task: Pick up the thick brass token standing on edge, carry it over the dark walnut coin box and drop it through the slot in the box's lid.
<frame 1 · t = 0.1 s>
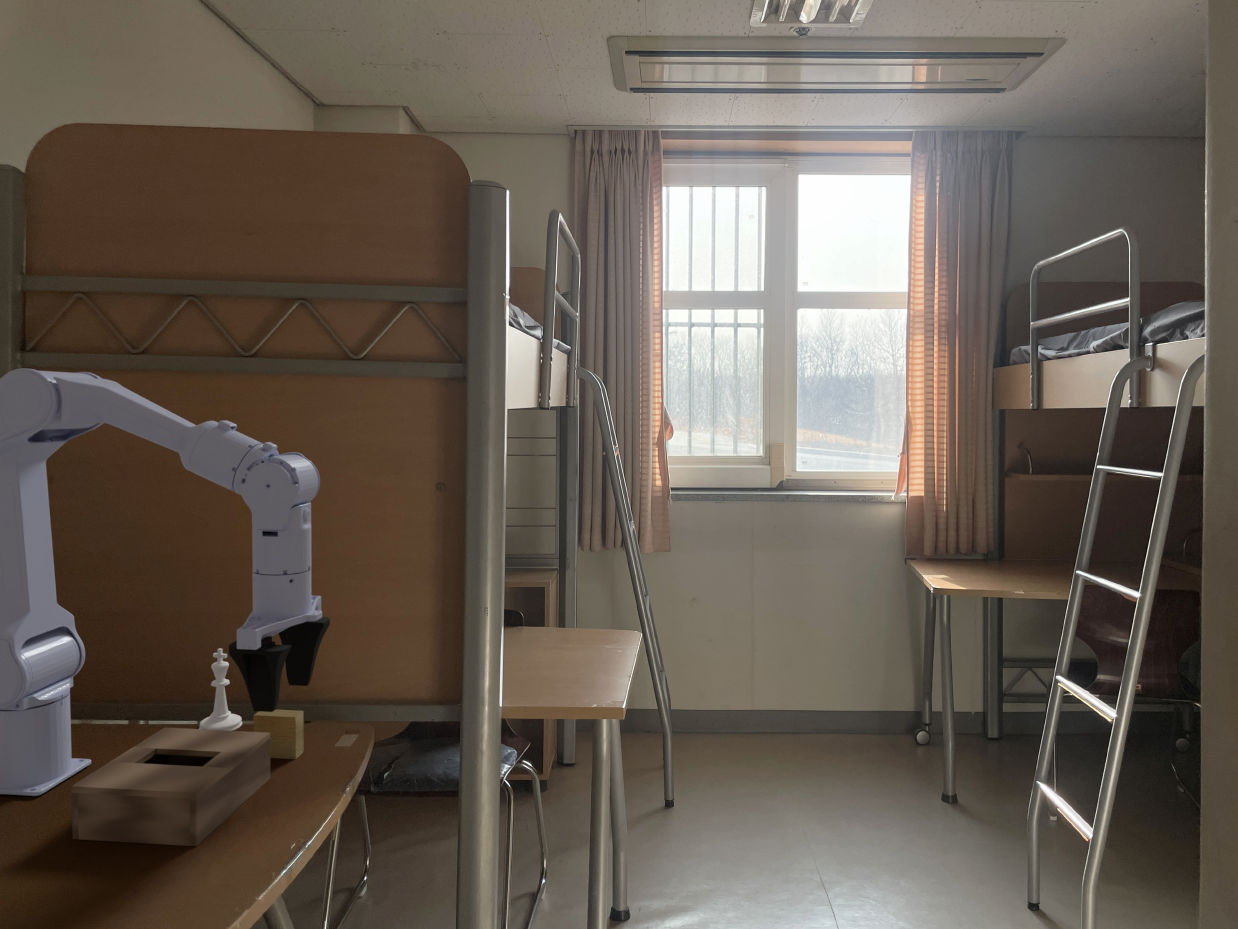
hand: (282, 697, 86), 10 cm above the table, tool pointing down, fingers open, 7 cm apart
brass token: (278, 754, 96), on the table
coin box: (179, 806, 83), on the table
chess piece: (220, 728, 103), on the table
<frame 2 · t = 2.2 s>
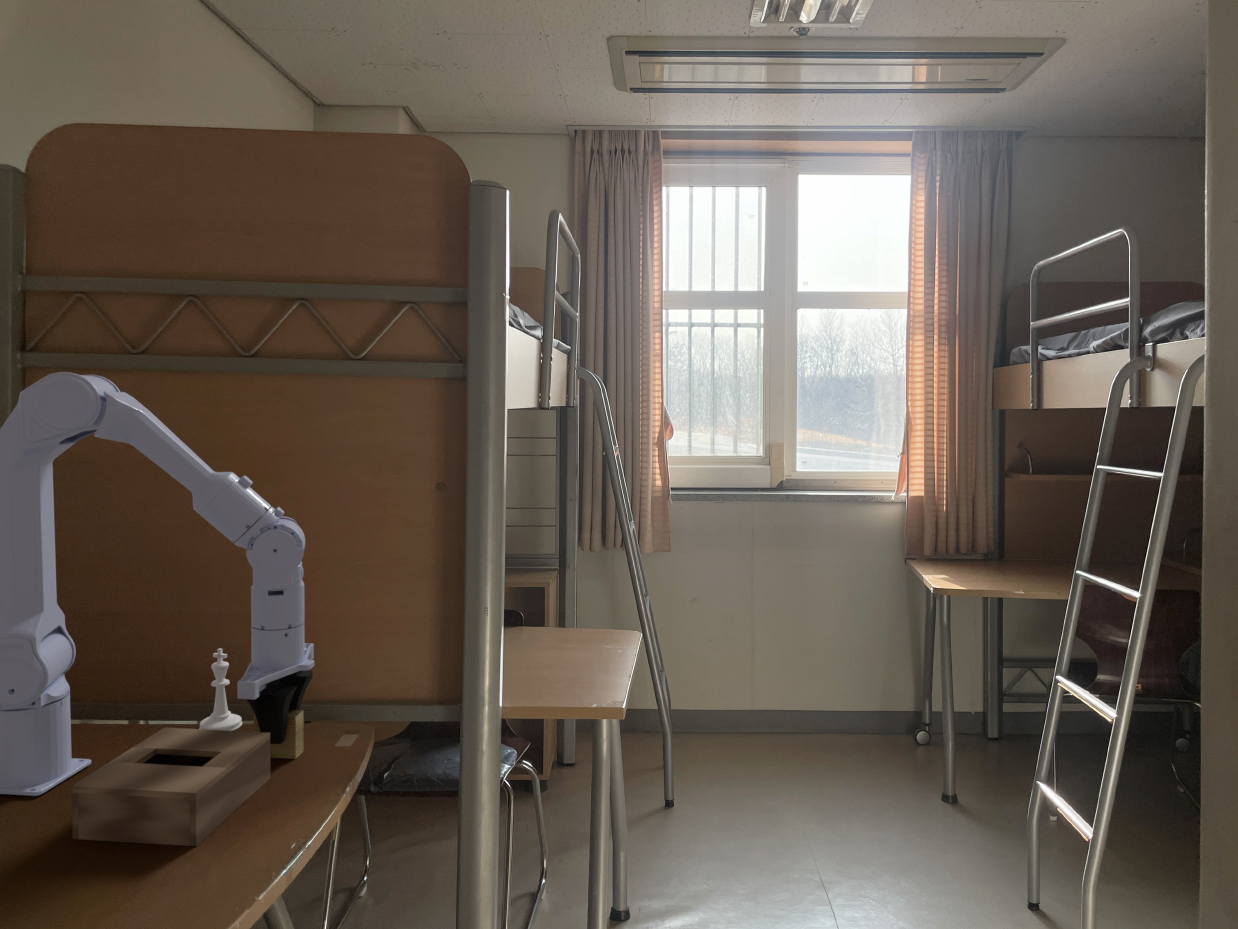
hand: (278, 738, 96), 2 cm above the table, tool pointing down, fingers closed on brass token, 2 cm apart
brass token: (278, 754, 96), on the table, touching gripper
everything else where it was.
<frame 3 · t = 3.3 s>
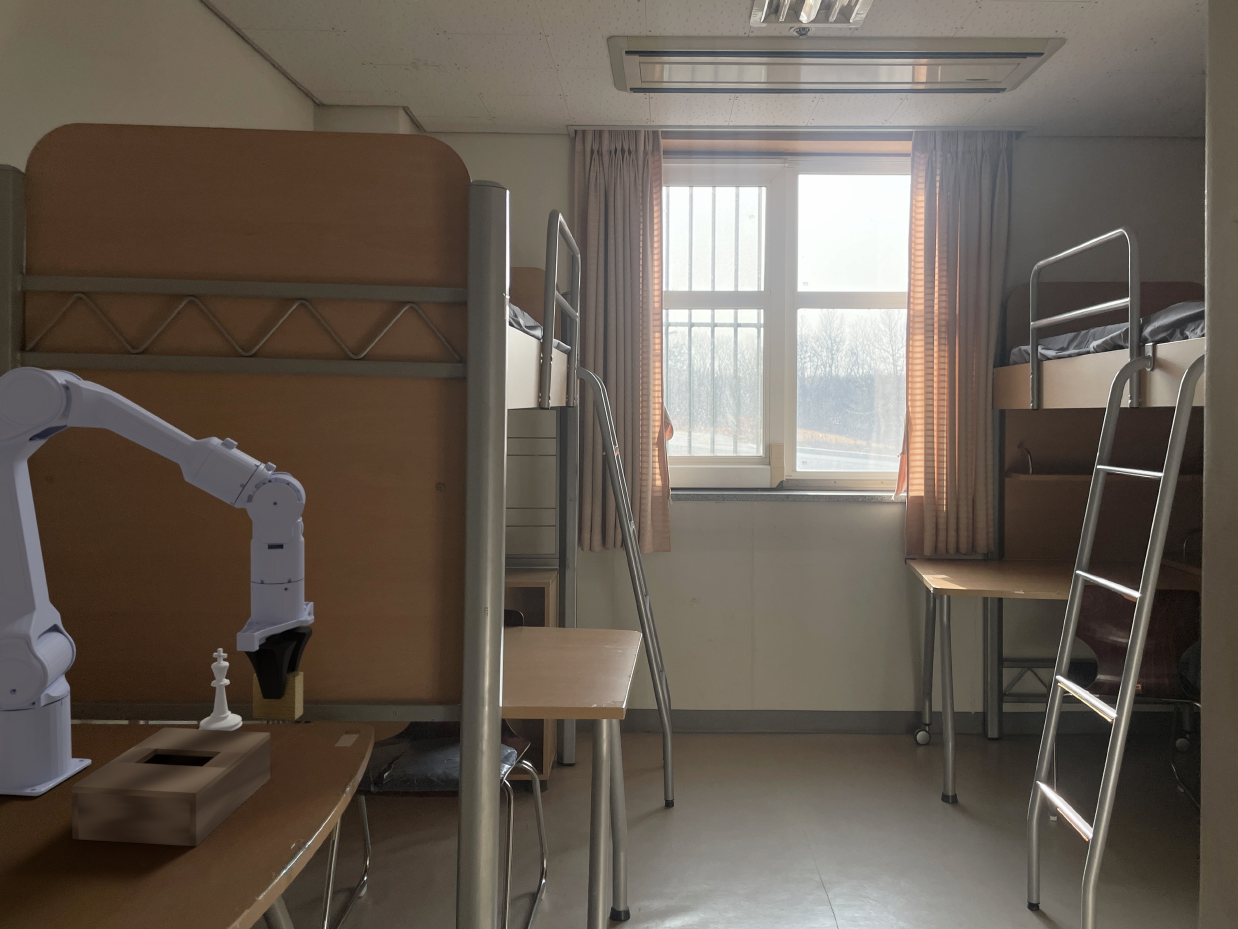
hand: (278, 694, 95), 7 cm above the table, tool pointing down, fingers closed on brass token
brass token: (278, 715, 95), point 5 cm above the table, touching gripper
everything else where it was.
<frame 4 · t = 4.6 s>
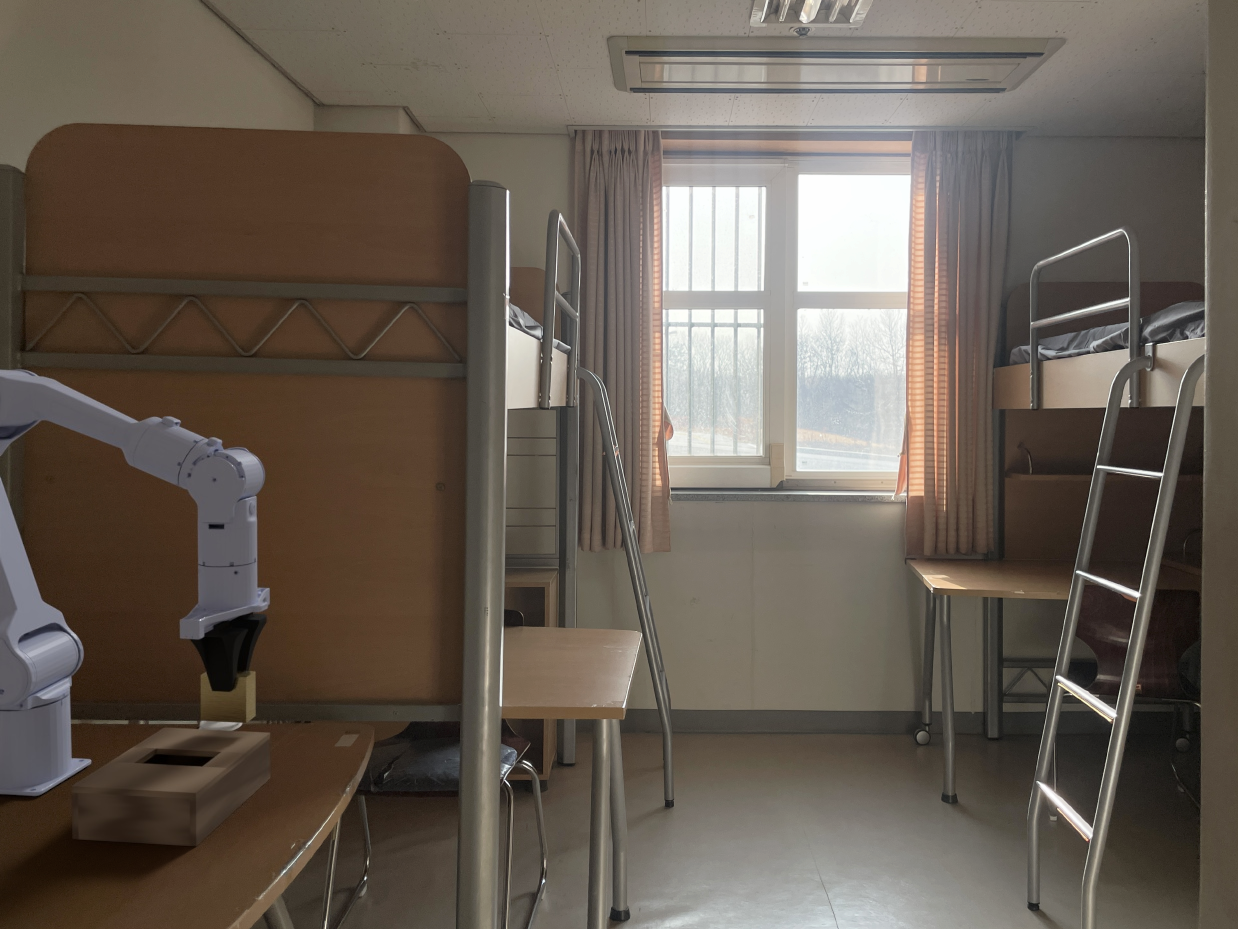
hand: (228, 686, 88), 10 cm above the table, tool pointing down, fingers closed on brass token
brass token: (228, 718, 89), point 7 cm above the table, touching gripper
everything else where it was.
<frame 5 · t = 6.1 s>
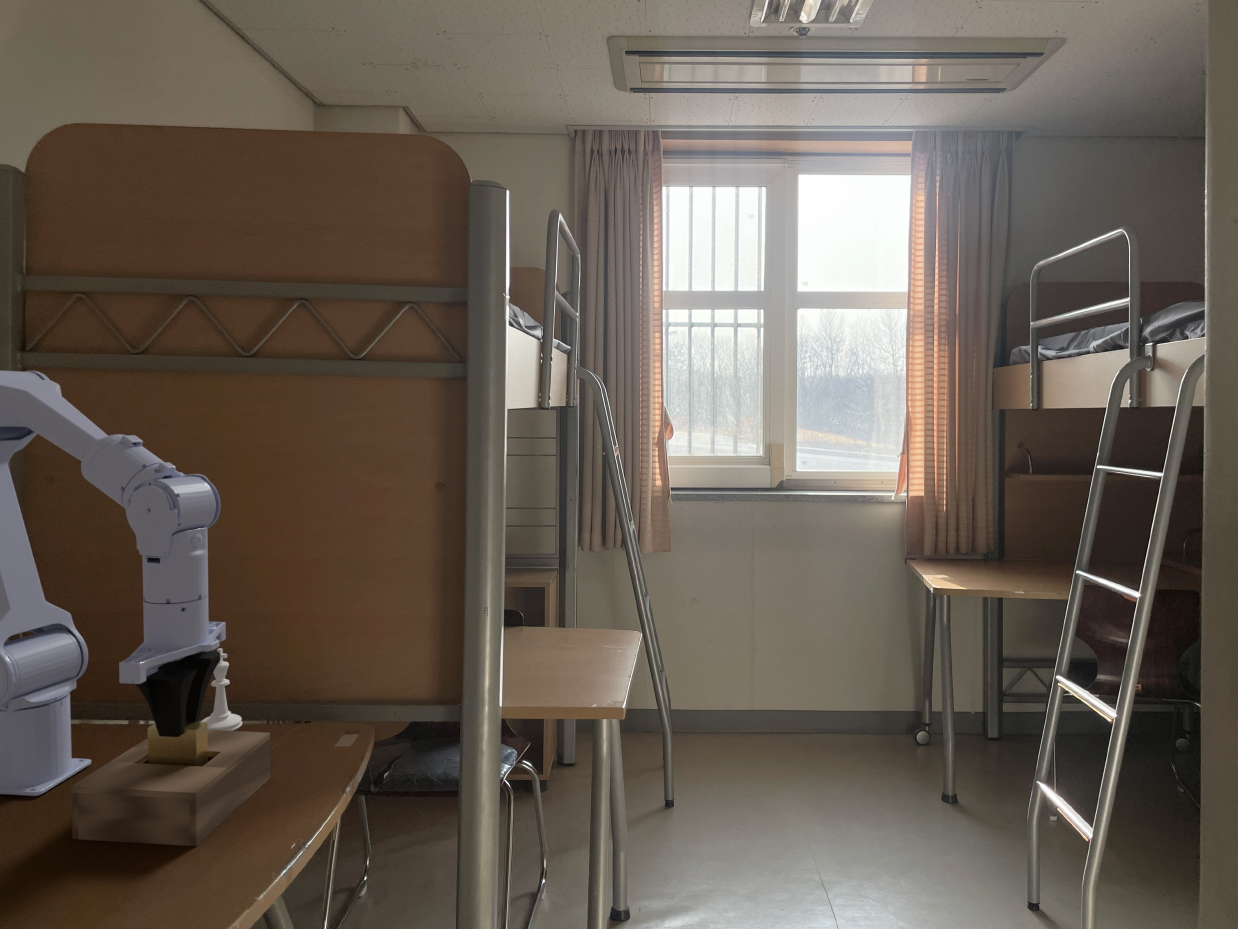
hand: (178, 730, 82), 8 cm above the table, tool pointing down, fingers closed on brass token
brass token: (178, 773, 83), point 3 cm above the table, touching gripper
everything else where it was.
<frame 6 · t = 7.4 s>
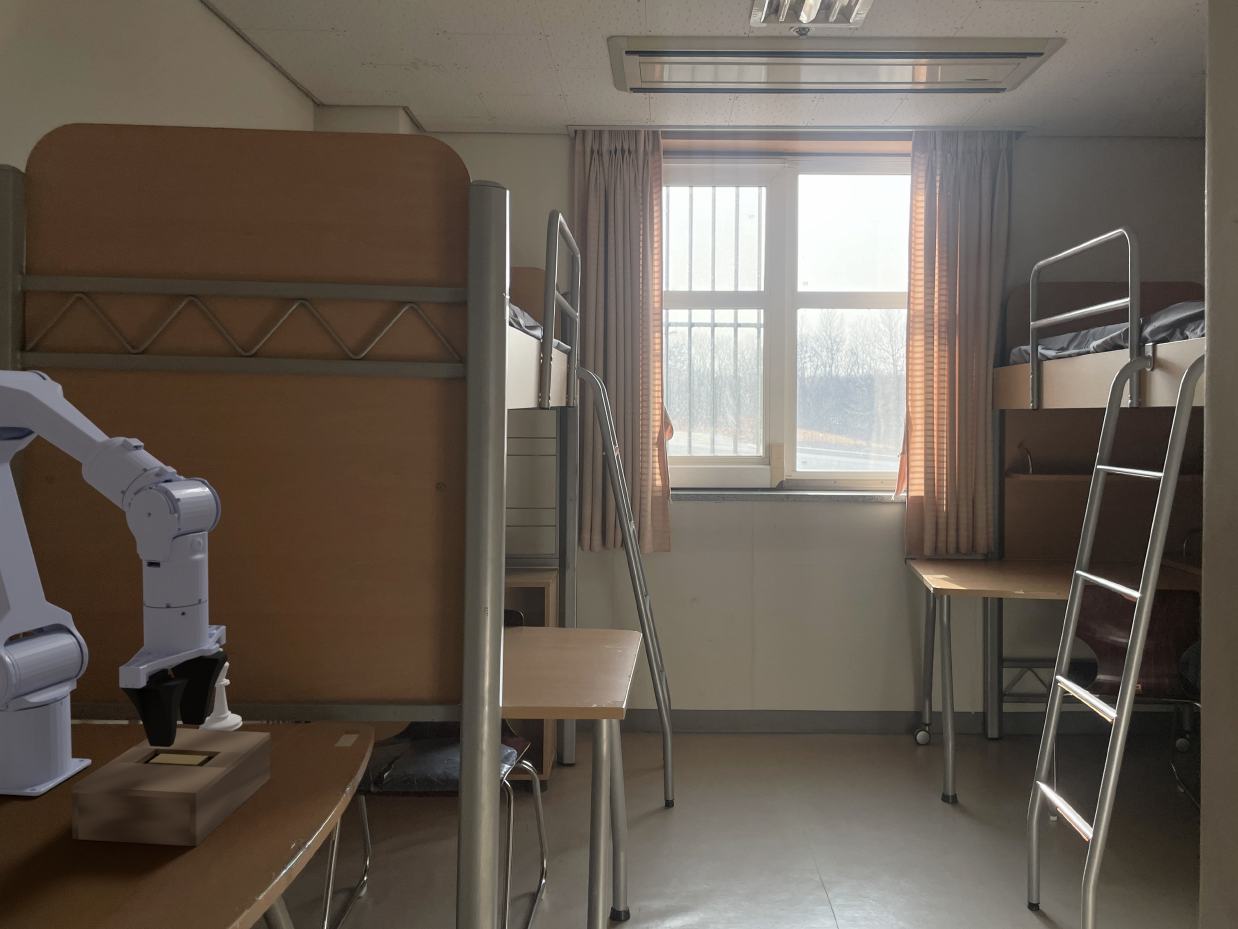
hand: (178, 734, 82), 8 cm above the table, tool pointing down, fingers open, 5 cm apart
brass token: (179, 807, 83), resting in coin box
everything else where it was.
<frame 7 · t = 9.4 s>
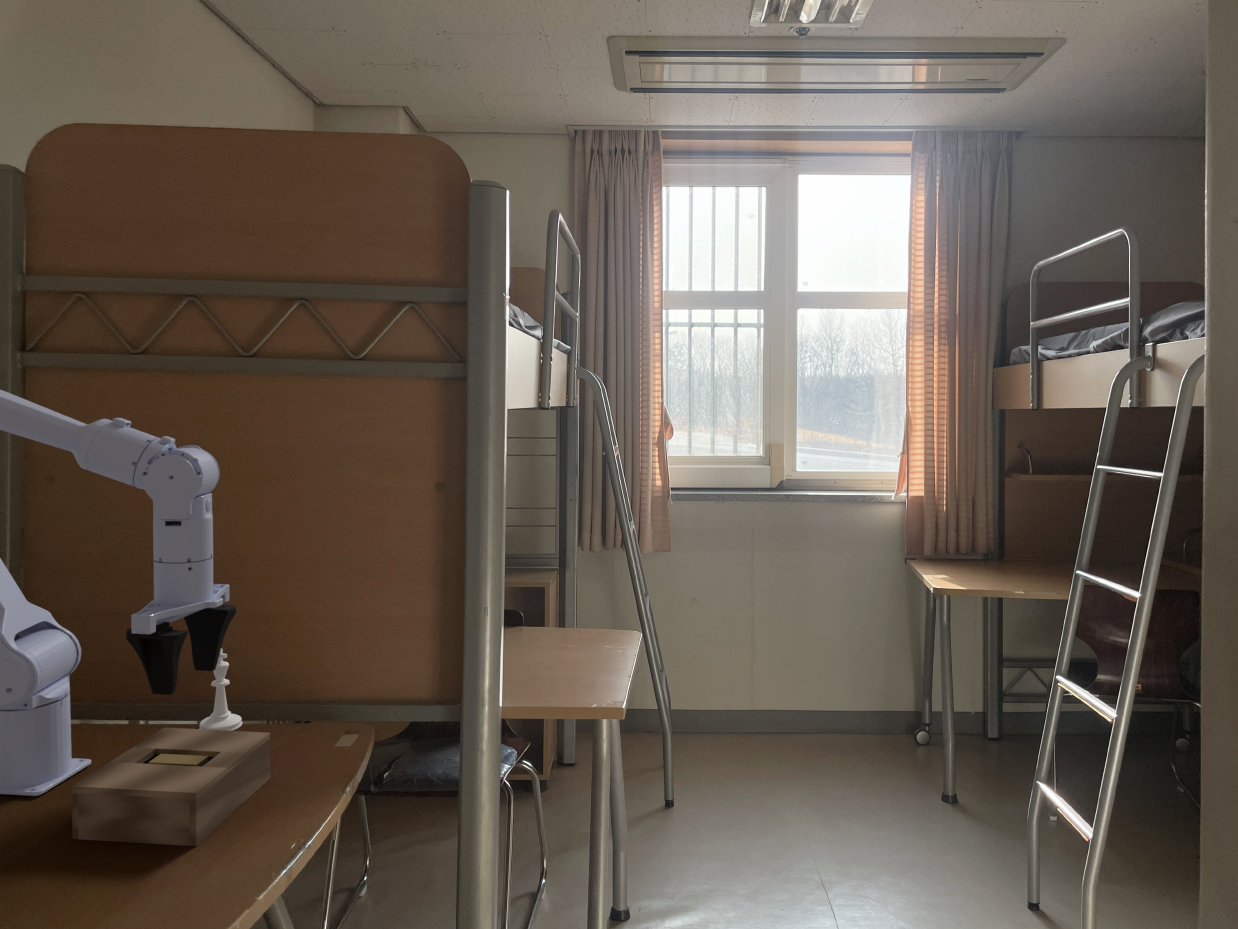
hand: (185, 681, 90), 10 cm above the table, tool pointing down, fingers open, 7 cm apart
nothing on the table moved.
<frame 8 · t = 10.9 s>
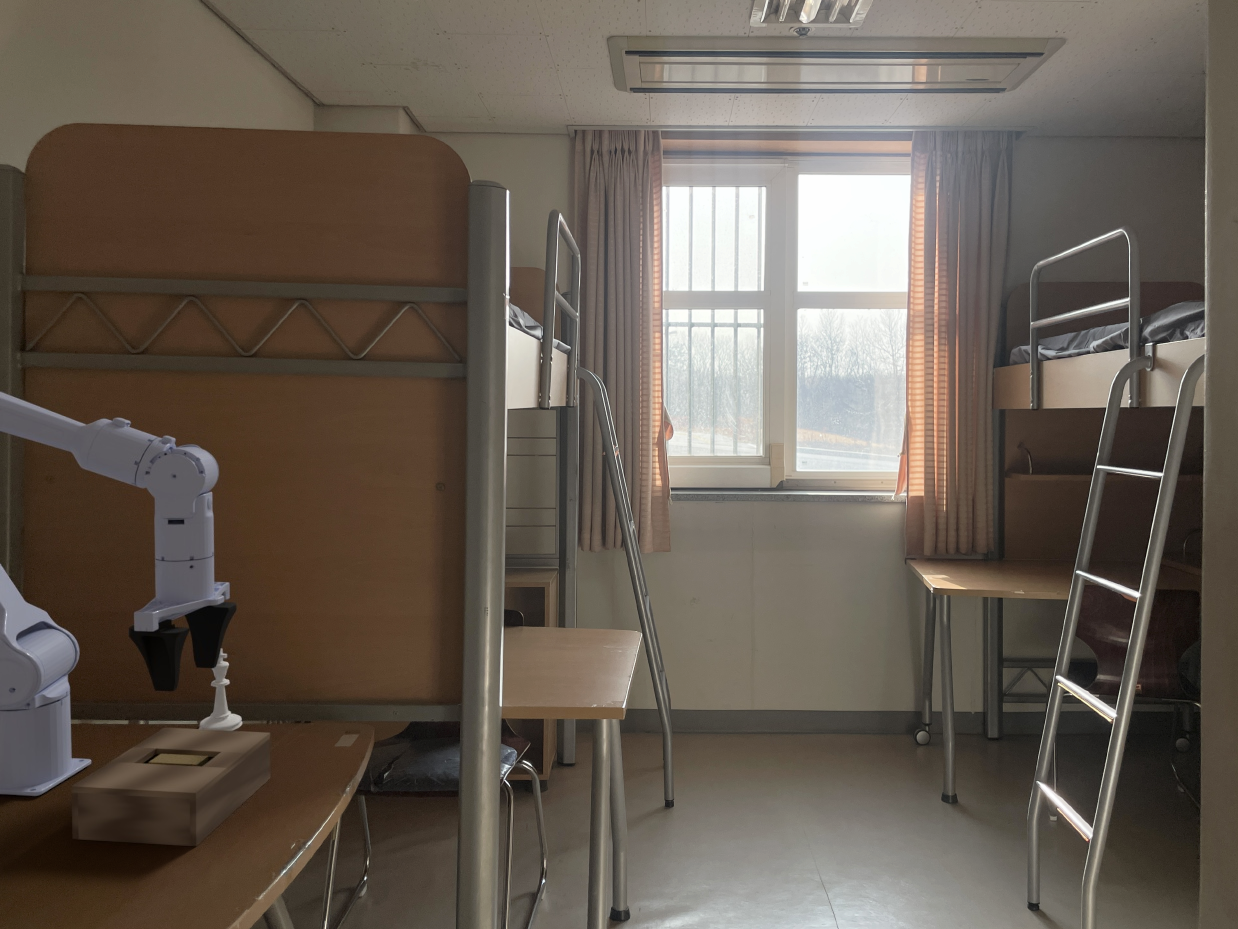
hand: (186, 678, 90), 10 cm above the table, tool pointing down, fingers open, 7 cm apart
nothing on the table moved.
at the end: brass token inside the target area on the coin box (0.0 cm from its centre), point 0.0 cm above the coin box's base; the gripper is holding nothing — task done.
